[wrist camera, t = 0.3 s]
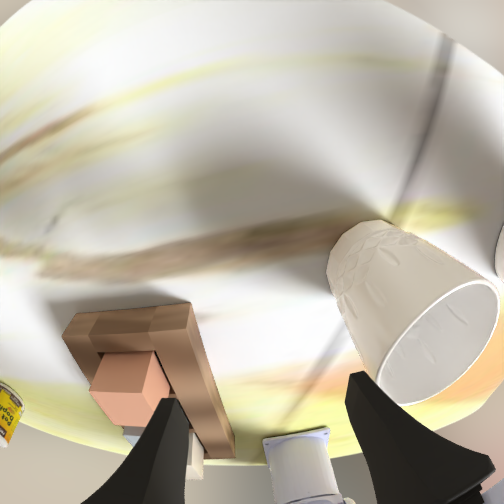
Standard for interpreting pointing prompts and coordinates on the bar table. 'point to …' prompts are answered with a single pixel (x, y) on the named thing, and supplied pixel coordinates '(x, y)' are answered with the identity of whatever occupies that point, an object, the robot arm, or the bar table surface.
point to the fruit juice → (500, 256)
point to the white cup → (410, 309)
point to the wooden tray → (171, 357)
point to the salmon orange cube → (129, 386)
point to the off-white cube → (194, 459)
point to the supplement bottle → (9, 413)
